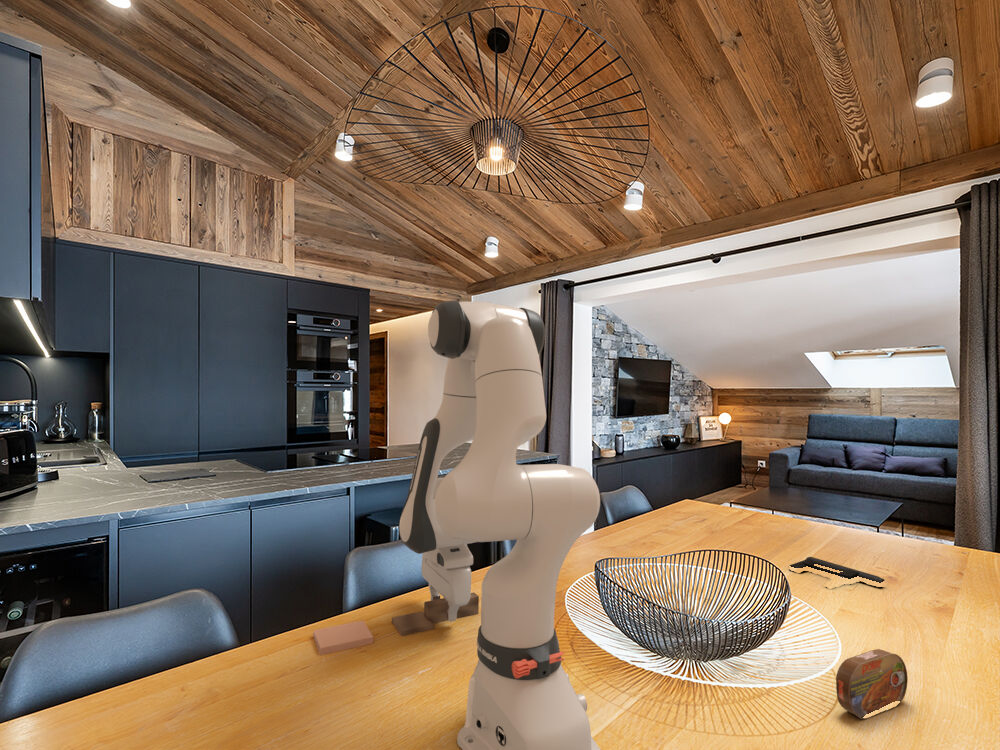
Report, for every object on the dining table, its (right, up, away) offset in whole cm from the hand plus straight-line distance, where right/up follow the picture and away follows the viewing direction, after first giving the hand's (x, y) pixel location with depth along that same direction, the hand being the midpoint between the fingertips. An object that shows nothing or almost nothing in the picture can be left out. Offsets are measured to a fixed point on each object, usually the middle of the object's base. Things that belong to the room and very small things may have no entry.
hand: (443, 611), depth 111 cm
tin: (+73, -2, -29) cm, 78 cm away
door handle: (+104, -5, +28) cm, 107 cm away
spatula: (-1, -2, 0) cm, 2 cm away
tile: (-14, -1, -8) cm, 16 cm away
